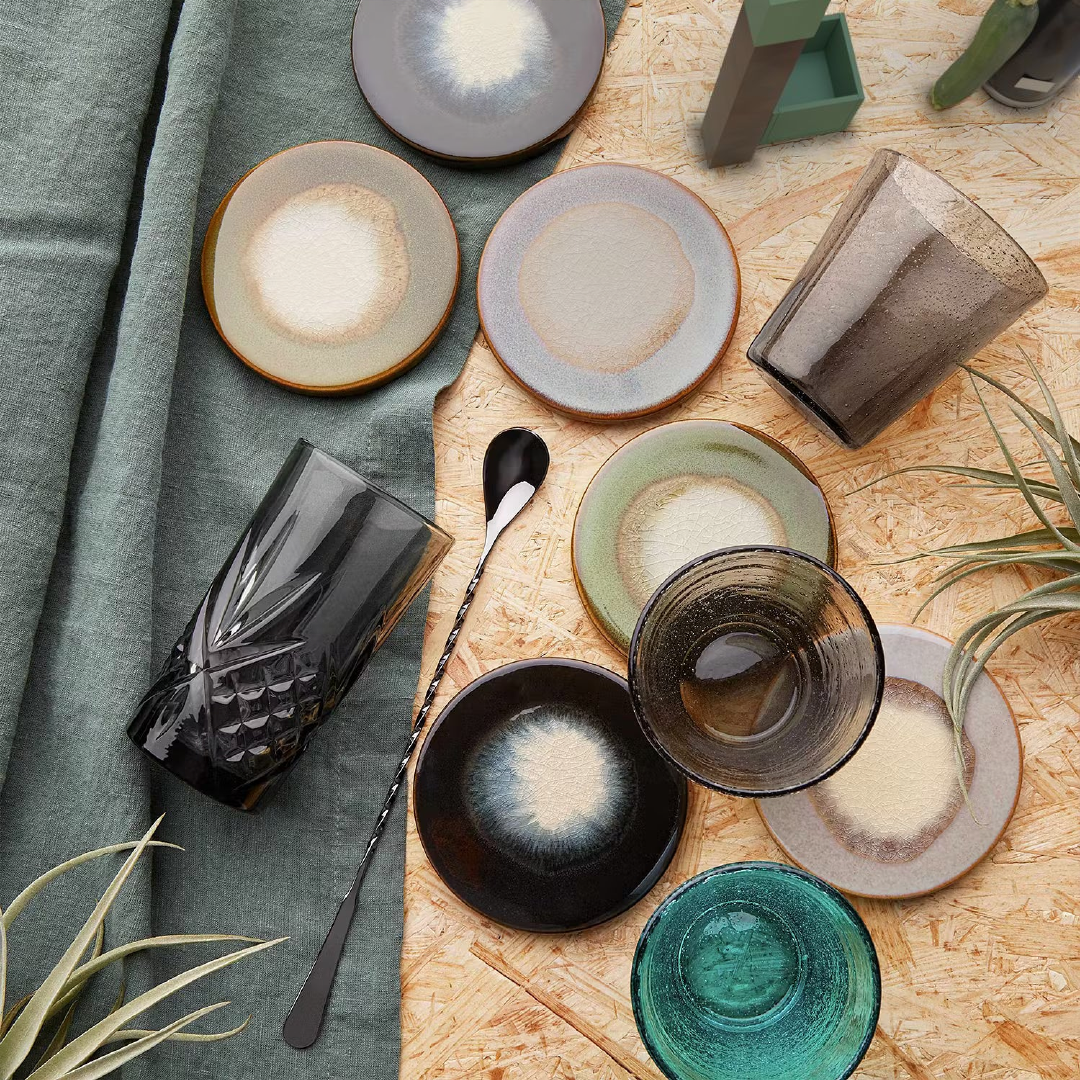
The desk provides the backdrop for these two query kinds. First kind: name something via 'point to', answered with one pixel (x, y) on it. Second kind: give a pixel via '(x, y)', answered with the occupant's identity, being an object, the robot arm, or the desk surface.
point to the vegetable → (986, 50)
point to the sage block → (784, 19)
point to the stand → (745, 95)
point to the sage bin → (819, 86)
